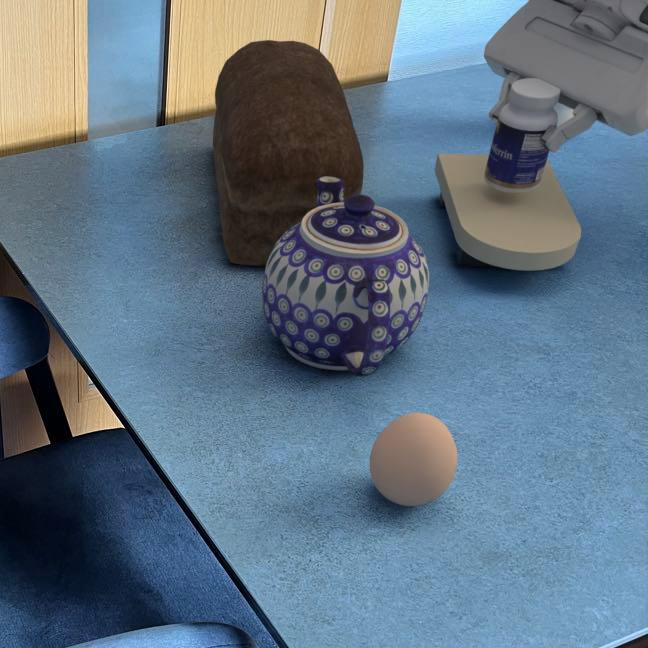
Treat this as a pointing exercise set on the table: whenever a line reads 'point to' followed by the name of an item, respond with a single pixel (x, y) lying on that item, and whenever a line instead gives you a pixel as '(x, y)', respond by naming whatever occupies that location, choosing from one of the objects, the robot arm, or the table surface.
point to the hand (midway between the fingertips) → (520, 134)
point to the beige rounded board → (506, 217)
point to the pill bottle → (522, 137)
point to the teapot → (345, 283)
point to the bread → (278, 143)
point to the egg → (413, 459)
